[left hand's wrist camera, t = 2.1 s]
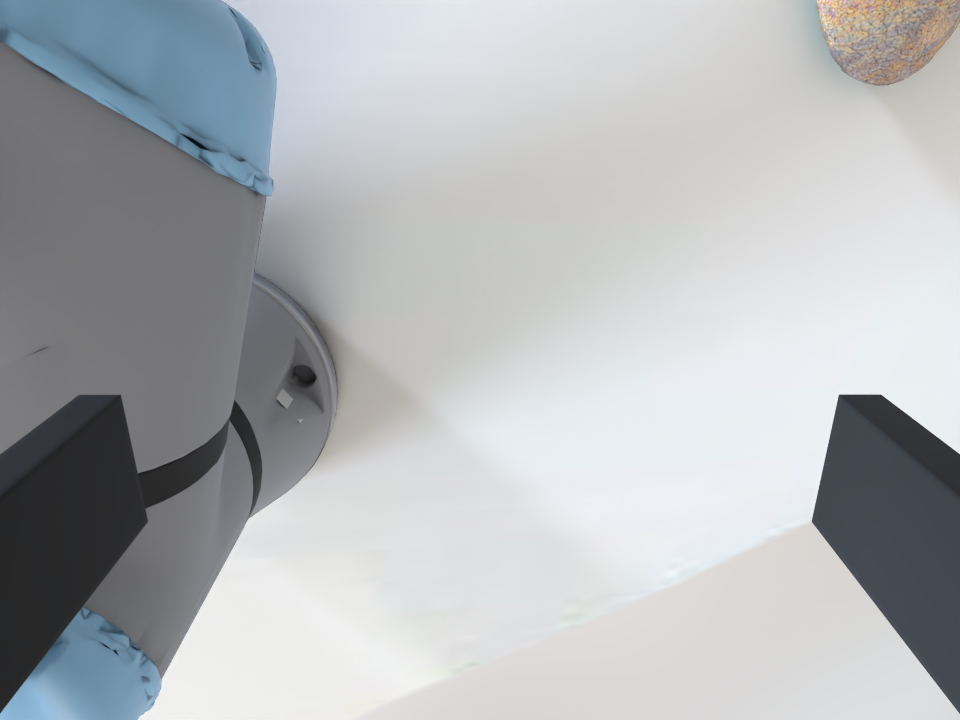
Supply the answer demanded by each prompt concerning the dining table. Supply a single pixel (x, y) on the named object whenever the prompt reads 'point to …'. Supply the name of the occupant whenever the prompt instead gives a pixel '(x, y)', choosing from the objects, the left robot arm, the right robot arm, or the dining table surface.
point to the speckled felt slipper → (886, 35)
